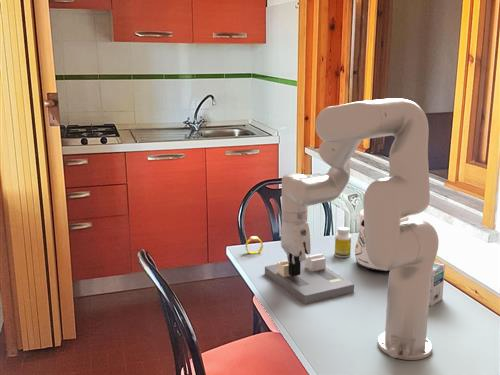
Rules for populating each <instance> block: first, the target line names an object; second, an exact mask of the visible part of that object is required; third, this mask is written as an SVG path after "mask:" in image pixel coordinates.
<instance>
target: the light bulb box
mask: <svg viewBox="0 0 500 375" xmlns="http://www.w3.org/2000/svg"><path fill="white" fill-rule="evenodd" d="M445 268H446V264H445V263H441V262H437V261H435V262H434V265H433V270H432V277H431V287H430V297H429V306H431V307H432V306H435V305H436V304H437V303H439V302H440V301H441V300H443V296H444V284H445V283H444V280H445Z"/></svg>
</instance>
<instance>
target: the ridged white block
mask: <svg viewBox="0 0 500 375" xmlns="http://www.w3.org/2000/svg"><path fill="white" fill-rule="evenodd" d="M326 266H327V259H326V257H325V256H324V253H316V254H310V255H308V256H306V260H305V267H306V268H307V269H309V270H310V271H312V272H313V271H318V270H322V269H326V268H327V267H326Z"/></svg>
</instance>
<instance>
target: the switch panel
mask: <svg viewBox="0 0 500 375" xmlns="http://www.w3.org/2000/svg"><path fill="white" fill-rule="evenodd" d="M264 275H266V276H267V277H268V278H269V279H271V280H272V281H273V282H275V283H276V284H278V285H279V286H281V288H283V289H284V290H286V291H287V292H289V293H290V294H291V295H292V296H293V297H295V298H296V299H298V300H299V301H300V302H302V303H303V304H305V305H306V304H310V303H313V302H319V301H323V300H327V299H331V298H335V297H340V296H343V295H344V296H345V295H349V294H352V293H354V292H355V283H353V282H351V281H349V280H348V279H346V278H344V277H343V276H341V275H339V274H338V273H336V272H334V271H333V270H331V269H330V268H329V267H326V269H322V270H318V271H313V272H312V271H310V270H309V269H307V268H306V267H305V261H302V262H301V263H300V275H296V276H287V277H283V276H281V275H280V274H278V273H277V263H276V264H271V265H265V266H264Z"/></svg>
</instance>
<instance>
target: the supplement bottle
mask: <svg viewBox="0 0 500 375" xmlns="http://www.w3.org/2000/svg"><path fill="white" fill-rule="evenodd" d="M350 230H351V229H350V227H347V226H339V227H337V233H336V234H335V237H334V238H335V240H334V256H335V257H337V258H342V259H345V258H349V257H350V256H351V247H352V246H351V245H352V236H351V234H350Z"/></svg>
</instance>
